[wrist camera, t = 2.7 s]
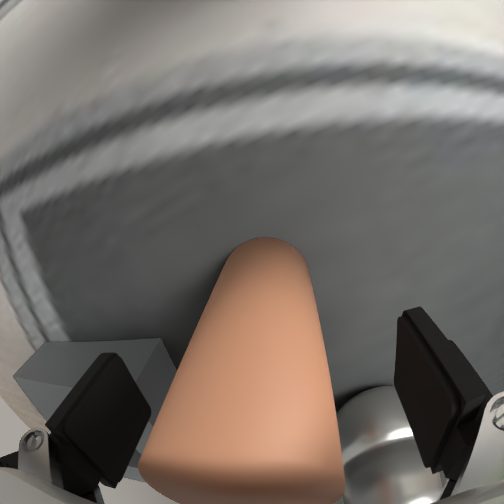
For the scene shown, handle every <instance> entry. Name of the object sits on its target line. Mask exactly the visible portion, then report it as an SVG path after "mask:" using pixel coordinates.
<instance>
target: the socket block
mask: <svg viewBox="0 0 504 504" xmlns="http://www.w3.org/2000/svg"><path fill="white" fill-rule="evenodd" d="M111 352H114V353H117V354H118V355H119V356H120V357H121V358H122V359H123V361H124V363H125V364H126V366H127V368H128V370H129V372H130V374H131V375H132V377H133V379H134V381H135V382H136V384H137V386H138V387H139V389H140V391H141V392H142V394H143V396H144V397H145V399H146V401H147V402H148V404H149V405H150V407H151V417H150V419H149V421H148V423H147V425H146V427H145V430H144V432H143V434H142V436H141V438H140V440H139V443H138V445H137V447H136V449H135V451H134V454H133V456H132V458H131V460H130V462H129V465H128V467H127V469H126V471H125V474H124V476H123V477H124V478H129V479H133V480H137V481H142V482H146V481H145V480H144V479H143V478H142V476H141V475H140V473H139V470H138V463H139V460H140V458H141V455H142V453H143V450H144V448H145V446H146V443H147V441H148V438H149V436H150V433H151V431H152V429H153V426H154V424H155V422H156V419H157V417H158V414H159V412H160V410H161V407H162V405H163V403H164V400H165V398H166V396H167V393H168V391H169V389H170V386H171V384H172V382H173V379H174V377H175V375H176V372H177V370H176V368H175V366H174V364H173V362H172V360H171V358H170V356H169V354H168V351H167V349H166V347H165V345H164V343H163V341H162V339H161V338H149V339H134V340H116V341H89V342H45V343H44V344H43V345H42V346H41V347H40V348H39V349H38V350H37V351H36V352H35V353H34V354H33V355H32V356H31V357H30V358H29V359H28V360H27V361H26V363H25V364H24V365H23V366H22V367H21V368H20V369H19V370H18V371H17V372H16V373H15V374H14V375H13V377H14V379H15V380H16V382H17V383H18V385H19V386H20V387H21V389H22V390H23V392H24V393H25V394H26V396H27V397H28V398H29V400H30V401H31V402H32V404H33V405H34V406H35V407H36V409H37V410H38V411H39V412H40V414H41V415H42V416H43V417H44V418H45V420H46V421H48V420H49V418H50V417H51V416H52V414H53V413H54V412H55V410H56V409H57V408H58V407H59V405H60V404H61V403H62V401H63V400H64V399H65V397H66V396H67V395H68V394H69V392H70V391H71V390H72V388H73V387H74V386H75V385H76V383H77V382H78V381H79V379H80V378H81V377H82V376H83V374H84V373H85V372H86V371H87V369H88V368H89V367H90V366H91V365H92V363H93V362H94V361H95V360H96V358H97V357H98V356H99V355H100V354H101V353H111Z"/></svg>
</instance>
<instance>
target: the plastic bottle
mask: <svg viewBox="0 0 504 504" xmlns="http://www.w3.org/2000/svg"><path fill="white" fill-rule="evenodd" d="M336 416H337V423H338V430H339V437H340V444H341V452H342V459H343V468H344V476H345V485H346V488H345V492H344V493H343V495H342V498H343V503H344V504H430V503H433V502H436V501H437V499H438V497H439V496H440V494H441V492H442V486H441V480H440V475H439V472H437V473H435V474H432V471H431V468H430V467H429V468H425V466H424V464H423V462H422V459H421V456H420V453H419V450H418V447H417V444H416V441H415V439H414V436H413V433H412V430H411V428H410V425H409V422H408V420H407V417H406V414H405V412H404V409H403V407H402V404H401V402H400V399H399V397H398V394H397V392H396V389H395V386H381V387H376V388H372V389H369V390H366V391H364V392H362V393H360V394H358V395H356V396H354V397H353V398H351V399H350V400H348V401H347V402H346V403H345V404H344V405H343V406H342V407H341V408H340V410H339V411H338V413H337V414H336Z"/></svg>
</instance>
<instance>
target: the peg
mask: <svg viewBox="0 0 504 504" xmlns="http://www.w3.org/2000/svg"><path fill="white" fill-rule="evenodd" d="M138 470H139V473H140V475H141V476H142V478H143V479H144V480H145V481H146V482H147V483H148V484H149V485H150V486H151V487H152V488H154V489H155V490H156V491H158V492H159V493H161V494H162V495H164V496H166V497H168V498H169V499H171V500H173V501H175V502H178V503H180V504H332V503H334V502H336V501H337V500H338V499H339V498H340V497H341V496H342V495H343V493H344V492H345V488H346V485H345V476H344V468H343V459H342V452H341V444H340V437H339V430H338V423H337V416H336V410H335V404H334V397H333V391H332V385H331V380H330V374H329V368H328V363H327V357H326V352H325V347H324V341H323V336H322V331H321V326H320V321H319V316H318V311H317V307H316V302H315V297H314V293H313V288H312V284H311V279H310V275H309V270H308V266H307V264H306V261H305V260H304V258H303V256H302V255H301V254H300V252H299V251H298V250H297V249H296V248H294V247H293V246H292V245H290V244H288V243H286V242H284V241H282V240H279V239H275V238H256V239H252V240H249V241H247V242H244V243H243V244H241V245H239V246H238V247H237V248H236V249H235V250H234V251H233V252H232V253H231V254H230V255H229V257H228V259H227V261H226V263H225V265H224V267H223V269H222V271H221V273H220V276H219V278H218V280H217V282H216V284H215V287H214V289H213V291H212V293H211V295H210V298H209V300H208V302H207V304H206V307H205V309H204V311H203V313H202V315H201V318H200V320H199V322H198V324H197V327H196V329H195V331H194V333H193V336H192V338H191V340H190V343H189V345H188V347H187V349H186V352H185V354H184V356H183V358H182V361H181V363H180V365H179V368H178V370H177V372H176V375H175V377H174V379H173V382H172V384H171V386H170V389H169V391H168V393H167V396H166V398H165V400H164V403H163V405H162V407H161V410H160V412H159V414H158V417H157V419H156V422H155V424H154V426H153V429H152V431H151V433H150V436H149V438H148V441H147V443H146V446H145V448H144V450H143V453H142V455H141V458H140V460H139V463H138Z"/></svg>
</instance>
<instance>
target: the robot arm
mask: <svg viewBox="0 0 504 504" xmlns="http://www.w3.org/2000/svg"><path fill="white" fill-rule="evenodd" d="M394 385H395V389H396V392H397V394H398V397H399V399H400V402H401V404H402V407H403V409H404V412H405V414H406V417H407V420H408V422H409V425H410V428H411V430H412V433H413V436H414V439H415V441H416V444H417V447H418V450H419V453H420V456H421V459H422V462H423V464H424V466H425V468H429V467H430V468H431V471H432V474H435V473H437V472H440V471H442V470H443V471H444V474H445V477H446V478H448V479H447V481H446V483H445V486H444V488H443V490H442V492H441V494H440V496H439V497H438V499H437V501H436V502H433V503H430V504H504V392H501V393H498V394H497V395H495V396H494V397H493V395H492V394H491V392H490V391H489V389H488V388H487V387H486V385H485V384H484V382H483V381H482V379H481V378H480V377H479V375H478V374H477V372H476V371H475V370H474V368H473V367H472V365H471V364H470V363H469V361H468V360H467V359H466V357H465V356H464V355H463V353H462V352H461V351H460V349H459V348H458V347H457V346H456V344H455V343H454V342H453V341H451V340H448V339H447V338H446V337H445V336H444V334H443V333H442V332H441V331H440V329H439V328H438V327H437V325H436V324H435V323H434V322H433V321H432V319H431V318H430V317H429V316H428V314H427V313H426V312H425V311H424V310H423V308H421V307H416V308H413V309H409V310H405V311H403V314H402V316H401V317H398V320H397V345H396V361H395V374H394ZM150 417H151V407H150V405H149V404H148V402H147V401H146V399H145V397H144V396H143V394H142V392H141V391H140V389H139V387H138V386H137V384H136V382H135V381H134V379H133V377H132V375H131V374H130V372H129V370H128V368H127V366H126V364H125V363H124V361H123V359H122V358H121V357H120V356H119V355H118V354H117V353H114V352H111V353H101V354H100V355H99V356H98V357H97V358H96V360H95V361H94V362H93V363H92V365H91V366H90V367H89V368H88V369H87V371H86V372H85V373H84V374H83V376H82V377H81V378H80V379H79V381H78V382H77V383H76V385H75V386H74V387H73V388H72V390H71V391H70V392H69V394H68V395H67V396H66V397H65V399H64V400H63V401H62V403H61V404H60V405H59V407H58V408H57V409H56V410H55V412H54V413H53V414H52V416H51V417H50V418H49V420H48V421H47V423H46V424H45V425H46V426H47V428H48V429H49V430H50V431H51V434H50V435H49V434H48V433H47V431H46V430H45V429H43V428H38V427H37V428H33V429H31V430H29V431H28V432H26V433H25V434H24V435H23V437H22V438H21V440H20V443H19V451H17V452H14V453H11V454H9V455H6V456H3V457H1V458H0V504H104V501H103V498H102V495H101V492H100V488H99V486H98V483H99V481H100V482H101V483H102V484H103V485H105V486H108V487H112V488H116V486H117V484H118V482H120V481H121V480H122V478H123V476H124V474H125V471H126V469H127V467H128V465H129V462H130V460H131V458H132V456H133V454H134V451H135V449H136V447H137V445H138V443H139V440H140V438H141V436H142V434H143V432H144V430H145V427H146V425H147V423H148V421H149V419H150Z"/></svg>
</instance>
